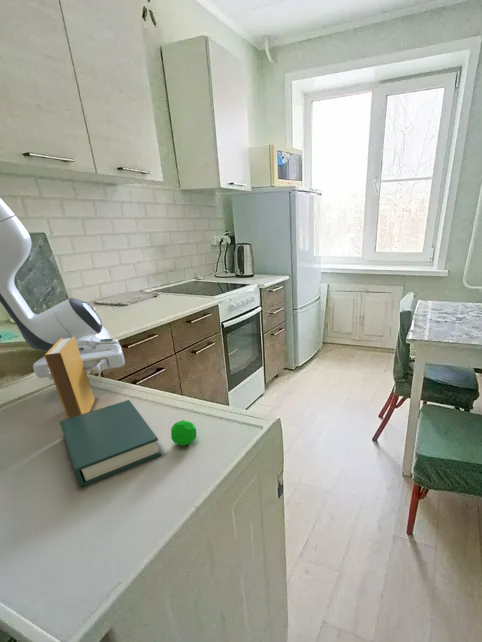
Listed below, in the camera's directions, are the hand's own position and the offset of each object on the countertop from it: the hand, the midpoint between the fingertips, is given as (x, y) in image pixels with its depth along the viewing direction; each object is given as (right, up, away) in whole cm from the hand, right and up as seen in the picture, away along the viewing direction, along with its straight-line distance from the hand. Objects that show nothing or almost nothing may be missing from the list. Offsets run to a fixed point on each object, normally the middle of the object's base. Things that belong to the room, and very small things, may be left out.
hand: (74, 373), depth 83 cm
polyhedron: (+30, -15, -12) cm, 35 cm away
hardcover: (+15, -15, -12) cm, 24 cm away
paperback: (+1, -9, +1) cm, 9 cm away
